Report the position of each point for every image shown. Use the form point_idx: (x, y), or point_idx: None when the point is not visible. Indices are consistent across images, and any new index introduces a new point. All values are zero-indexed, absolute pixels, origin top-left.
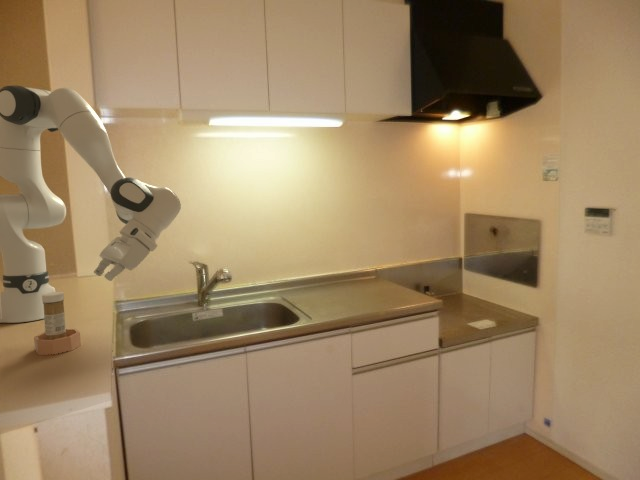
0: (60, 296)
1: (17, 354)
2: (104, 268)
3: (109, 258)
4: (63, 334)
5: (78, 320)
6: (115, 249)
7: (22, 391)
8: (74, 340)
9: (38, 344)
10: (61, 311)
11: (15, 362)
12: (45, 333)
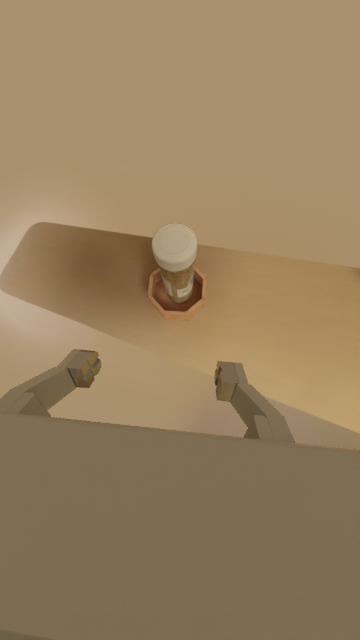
0: (154, 255)
1: None
2: (241, 413)
3: (126, 428)
4: (167, 292)
5: (322, 364)
6: (131, 575)
7: (66, 236)
8: (154, 305)
9: None
10: (162, 274)
11: None
12: (201, 277)
